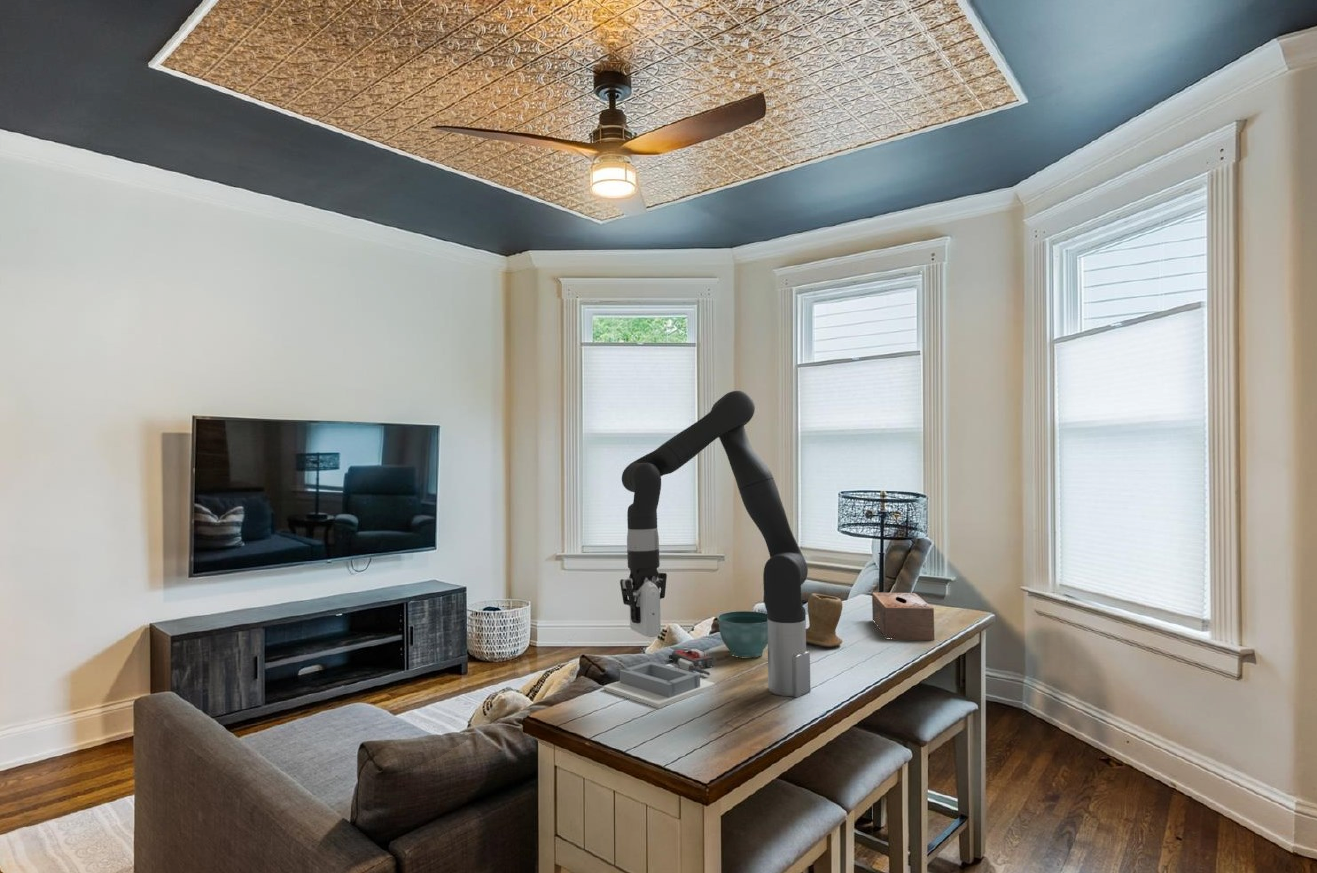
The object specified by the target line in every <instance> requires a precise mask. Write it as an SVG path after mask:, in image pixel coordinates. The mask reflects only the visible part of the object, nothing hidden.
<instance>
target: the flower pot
mask: <svg viewBox="0 0 1317 873" xmlns="http://www.w3.org/2000/svg"><path fill="white" fill-rule="evenodd" d="M716 617H717V622H718V629H719V635H720V637H721V640H722V642H723V643H724V645H725V646H726V648H727V649H728V651H729V652H728V653H729V654H731V655H730V656H732V655H734V656H738V657H748V658H747V659H752V658H751V657H756V658H759V656H760V657H762V655H763V653H764V650H765V648H766V647H768V624H767V612H763V611H761V612H760V611H751V610H739V611H738V610H736V611H727V612H723V613H720V614H719V615H718V616H716ZM734 656H733V657H734ZM738 657H737V658H738ZM749 657H750V658H749Z"/></svg>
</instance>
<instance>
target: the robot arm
mask: <svg viewBox="0 0 1317 873" xmlns="http://www.w3.org/2000/svg"><path fill="white" fill-rule="evenodd" d="M755 406H756V405H755V403H754V400H753V399H752V396H750V394H748V393H746V392H744V391H741V390H733V391H730V392H727V393H726V394H724V395H723V396H721V398H719V399H718V400H717V401H716V402H715V403H714V404H713V405H712V407H711V409H710V412H708V413H707V414H706V415H704V416H703V417H701V418H700V419H698V420H697V421H696V422H694V423H693V424H691V425H690V426H688V427H686V428H685V429H683V430H682V431H680V432H679V433H677V434H676V435H674V436H672V437H671V438H670V439H668V440H667V441H665V442H664V443H662V444H660V446H658V447H657V448H656V449H655V450H653V451H651V452H648V453H647V454H645V455H644V456H641V457H640V458H638V459H636V460H634V461H633V462H630V463H629V464H628V465H627V466H626V467H625V468H624V470H623V471H622V473H621V483H622V486H623V487H624V488H625V489H626V491H628V492H631V493H633V494H634V495H633V500H632V501H633V502H632V503H631V504H630V505H629V506H628V507H627V516H626V517H627V533H626V534H627V535H626V548H627V549H626V550H627V551H626V553H627V555H626V556H627V568H628V569H629V572H630V573H629V577H627V578H626V579H623V578H622V579H620V580H619V585H620V591H621V596H622V601H623V605H627V606H628V607H629V608H630V607H631V620H632V622H633V623H640V622H641V618H640V607H639V606H640V597H641V591H639V593H635V590H636V591H637V590H639V589H640V588H641V586H643V584H645V582H648V580H649V581H651V582H652V583H654V584H655V585H656V586H657V588H658V589H659V590H660V591H659V592H660V600H662V599H664V598H665V597H666V596H665V595H666V586H667V577H668V574H667V573H666V572H660V571H658V568H660V564H661V563H660V539H659V538H660V537H659V532H658V512H657V511H658V510H657V509H658V506H659V502H660V496H661V495H660V494H661V491H662V490H661V489H662V476H665V475H670V474H672V473H674V472H676V471H677V470H679V469H680V468H681V467H683V466H684V465H685V464H687V463H688V462H690V461H691V460H692V459H693V458H695V457H696V456H697V455H699V453H701V452H703V450H704V449H705V448H707V446H709V445H710V444H711V443H713V442H714V441H715V440H717V439H718V438H719V441H720V442H721V446H722V447H723V449H724V451H725V453H726V456H727V459H728V462H729V464H730V465H729V466H730V468H731V470H732V474H733V476H734V479H735V481H736V485H737V489H738V492H739V494H740V498H741V500H742V503H743V506H744V508H745V510H746V512H747V513H748V515H749V517H750V519H751V520H752V522H753V523H754V524H755V526H756V527H757V528H758V530H759V532H760V533H761V535H762V537H763V538H764V541H765V544H766V547H767V551H768V554H769V559H768V560H767V561H766V563H765V564H764V567H763V575H762V577H763V578H762V579H763V581H762V582H763V583H762V584H763V598H764V603H763V604H764V608H765V610H766V613H767V624H768V644H767V675H768V678H767V679H768V680H767V681H768V682H767V683H768V691H769V692H770V693H772V694H774V695H777V696H783V697H794V698H798V697H801V696H803V695H805V694H807V693H810V692H811V654H810V651H809V650H807V643H806V629H807V624H806V622H807V620H806V618H807V617H806V608H805V607H804V606H803V601H802V585H803V584H804V583H805V582H806V581H807V578H808V574H809V573H808V572H809V570H808V564H807V562H806V559H805V557H804V555H803V553H802V551H801V549H800V547H799V544H798V543H797V540H796V539H795V537H794V534H793V531H792V530H791V527H790V526H791V525H790V524H789V520H788V518H787V517H788V516H787V514H786V511H785V508H784V505H783V502H782V500H781V496H780V493H779V490H778V486H777V484H776V481H775V478H774V477H773V474H772V471H771V470H770V469H769V467H768V466H767V465H766V463H765V462H764V461H763V460H762V459H761V458H760V456H758V454H757V453H756V452H755V451H754V449H753V447H752V445H751V444H750V441H749V438H748V435H747V432H746V428H745V426H746V425H747V424H748V423H750V421H751V420H752V419H753V417H754V415H755V409H756V407H755ZM635 597H637V598H636V601H635Z"/></svg>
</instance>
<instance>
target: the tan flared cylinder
mask: <svg viewBox="0 0 1317 873" xmlns="http://www.w3.org/2000/svg"><path fill="white" fill-rule="evenodd" d="M842 612H843V601H842V600H841V598H839V597H837V596H831V595H826V594H822V593H821V594H820V593H814V592H813V593H811V594H810V595H809V597H808V600H807V615H808V621H809V624H808V628H807V627H806V644H811V645H814V646H815V645H816V646H821V647H838V646H840V645H841V644H842V643H843V640H842V639H841V638H840V637H839V636H837V632H836V630H837V626H838V624H839V622H840V620H841V616H842Z"/></svg>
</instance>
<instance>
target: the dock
mask: <svg viewBox="0 0 1317 873" xmlns="http://www.w3.org/2000/svg"><path fill="white" fill-rule="evenodd" d="M714 687H715V688H716V683H714V682H712V681H708V680H704V679H701V673H698V672H693V671H686V670H684V669H682V668H678V667H673V666H670V665H667V664H662V663H659V662H655V661H653V660H651V661H647V662H644V663H640V664H637V665H633V666H630V667H626V668H624V669H620V670H619V680H618V681H615V682H611V683H608V684H605V685H603V688H602V689H603V691H605V690H606V692H608V693H610V694H615V695H617V694H619V695H618V696H620V695H622V696H621V697H623V696H625V697H624V698H626V697H628V698H627V699H629V698H630V699H629V700H632V699H633V700H632V701H635V700H636V702H638V703H641V702H643V703H642V704H644V703H645V704H644V705H647V704H648V705H647V706H650V705H651V707H653V708H657V709H661V708H664V707H667V706H669V705H672V704H674V702H675V703H677V702H680V701H682V700H685V699H688V698H691V697H694V696H696V695H699V694H702V693H704V692H708V691H710V690H713V689H715V688H714ZM712 688H713V689H712ZM666 705H667V706H666Z"/></svg>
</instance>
